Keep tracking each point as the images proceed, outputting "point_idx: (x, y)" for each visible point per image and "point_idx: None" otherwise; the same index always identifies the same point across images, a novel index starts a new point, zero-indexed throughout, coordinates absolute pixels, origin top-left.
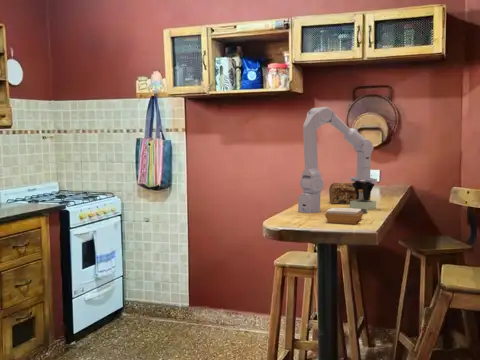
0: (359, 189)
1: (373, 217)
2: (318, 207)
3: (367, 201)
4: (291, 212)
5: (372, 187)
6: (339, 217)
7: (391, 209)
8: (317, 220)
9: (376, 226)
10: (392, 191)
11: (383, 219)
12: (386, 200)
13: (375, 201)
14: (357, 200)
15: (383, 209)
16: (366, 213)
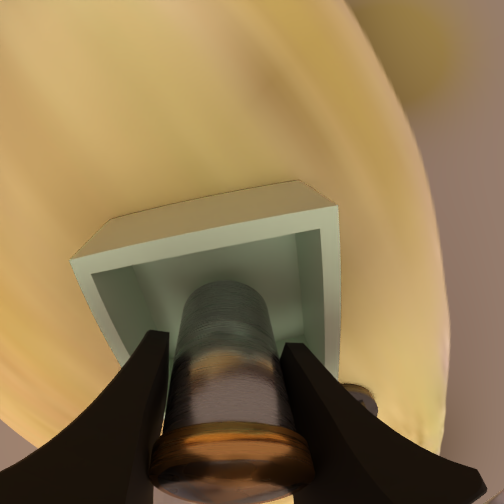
0: (206, 501)
1: (408, 400)
2: (192, 502)
3: (210, 244)
4: None
5: (429, 462)
6: None
7: (353, 16)
8: (284, 500)
9: (437, 443)
10: None
11: (445, 393)
12: None
13: (336, 222)
14: (113, 321)
15: (305, 59)
16: (376, 414)
